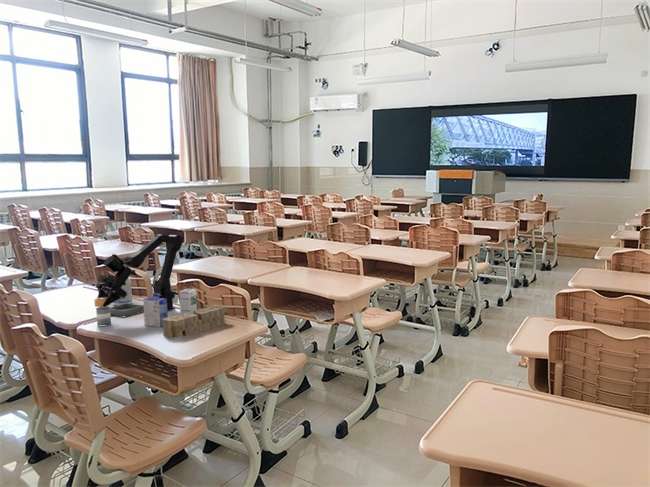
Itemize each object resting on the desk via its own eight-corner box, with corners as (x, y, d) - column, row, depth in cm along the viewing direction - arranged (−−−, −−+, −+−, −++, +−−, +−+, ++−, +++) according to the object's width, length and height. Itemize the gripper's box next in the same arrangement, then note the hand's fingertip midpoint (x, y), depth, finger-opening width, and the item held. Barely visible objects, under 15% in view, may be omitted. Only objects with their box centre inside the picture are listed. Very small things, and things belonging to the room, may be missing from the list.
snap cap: (113, 304, 229) (113, 297, 228) (101, 307, 223) (100, 300, 223) (104, 302, 232) (103, 296, 231) (91, 306, 226) (91, 299, 226)
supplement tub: (114, 307, 262) (112, 280, 261) (112, 303, 271) (110, 277, 269) (133, 304, 267) (131, 278, 265) (131, 301, 275) (129, 275, 273)
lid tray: (143, 311, 252) (143, 305, 252) (124, 317, 241) (123, 311, 241) (126, 308, 258) (126, 303, 257) (106, 314, 247) (106, 308, 247)
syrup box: (191, 321, 230) (189, 291, 228) (180, 320, 232) (179, 290, 230) (198, 318, 236) (196, 288, 234) (188, 317, 237) (186, 288, 236)
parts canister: (114, 323, 230) (112, 306, 229) (103, 326, 225) (101, 309, 224) (105, 322, 232) (104, 305, 232) (94, 325, 227) (93, 308, 226)
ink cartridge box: (169, 324, 226) (167, 293, 225) (160, 327, 221) (158, 296, 220) (152, 322, 231) (150, 292, 229) (144, 325, 226) (142, 294, 224)
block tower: (174, 341, 204) (228, 323, 227) (172, 322, 203) (227, 305, 226) (163, 338, 209) (217, 320, 232) (161, 319, 208) (215, 303, 231)
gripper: (98, 266, 234) (76, 293, 227) (118, 269, 223) (96, 298, 215) (115, 279, 241) (94, 306, 234) (135, 283, 230) (115, 311, 222)
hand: (99, 305), depth 226 cm, fingers closed on snap cap, 7 cm apart
